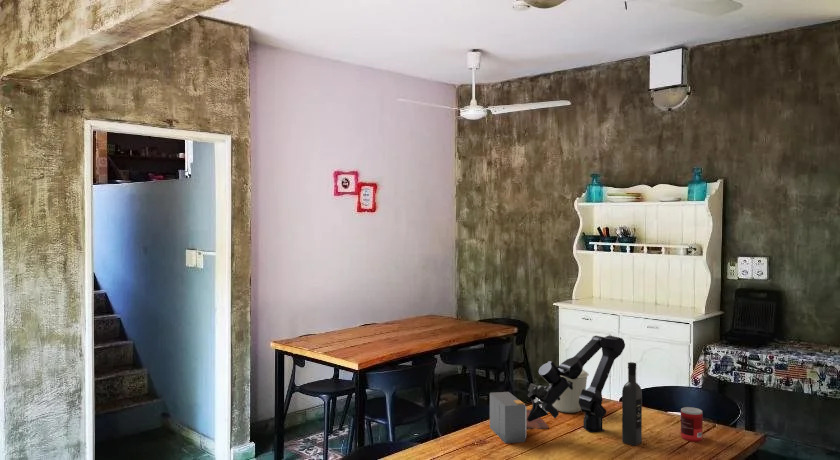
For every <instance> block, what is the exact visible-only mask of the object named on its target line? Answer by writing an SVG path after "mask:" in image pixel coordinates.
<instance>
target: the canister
mask: <svg viewBox="0 0 840 460" xmlns="http://www.w3.org/2000/svg"><path fill="white" fill-rule="evenodd" d="M560 376H561V375H560ZM588 376H589V372H588V371H586V370H585V369H583V370H582V372H581V374H580V375H579V376H578V378H577V379H575V380H574V379H569V378H566V377H565V378H566V379H567V380H568V381H571V382H572V383H573V384H572V386H573V390H571V389H570V388H567V389H566V390H565V391H564V392H563V394H562V395H561V396H560V397H559V398H560V400H556V402H555V403H554V404H553V406H554V407H555V408H556V409H557V410H558V411H559V412H562V413H569V414H570V413H571V414H572V413H574V414H575V413H579V412H580V411H581V412H582V410H581V407H580V405H579V399H580V398H579V397H580V395H581V392H582V390H583V389H585V390H587V380H588ZM561 377H563V376H561ZM548 384H549V383H548ZM549 385H550V384H549ZM549 385H548V386H549Z"/></svg>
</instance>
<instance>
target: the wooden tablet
mask: <svg viewBox="0 0 840 460" xmlns="http://www.w3.org/2000/svg"><path fill="white" fill-rule="evenodd" d="M530 412H531V409H526V430H535V429H536V430H548V429H549V426H548V423H546V422H545V420H544V419H542V418H543V417H540V418H538V419H535V420H533V421H530V422H529V421H528V420H527V418H528V416H529V414H530Z"/></svg>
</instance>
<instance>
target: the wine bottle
mask: <svg viewBox="0 0 840 460" xmlns="http://www.w3.org/2000/svg"><path fill="white" fill-rule="evenodd" d="M627 370H628V373H627V376H628V377H627V379H628V380H627V382H626V383H624V385H623V387H622V393H621V397H622V400H621V403H622V405H621V410H622V411H621V412H622V413H621V414H622V415H621V419H622V420H621V432H622V433H621V442H622V443H624V444H627V445H630V446H633V447H635V446H638V445H640V444H641V443H643V441H642V436H643V435H642V431H643V430H642V429H643V426H642V425H643V423H642V419H643V415H642V413H643V410H642V409H643V407H642V406H643V397H642V396H643V393H642V388H641V386H640V385H639V383H638V382H637V363H636V362H632V361H631V362H627Z"/></svg>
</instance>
